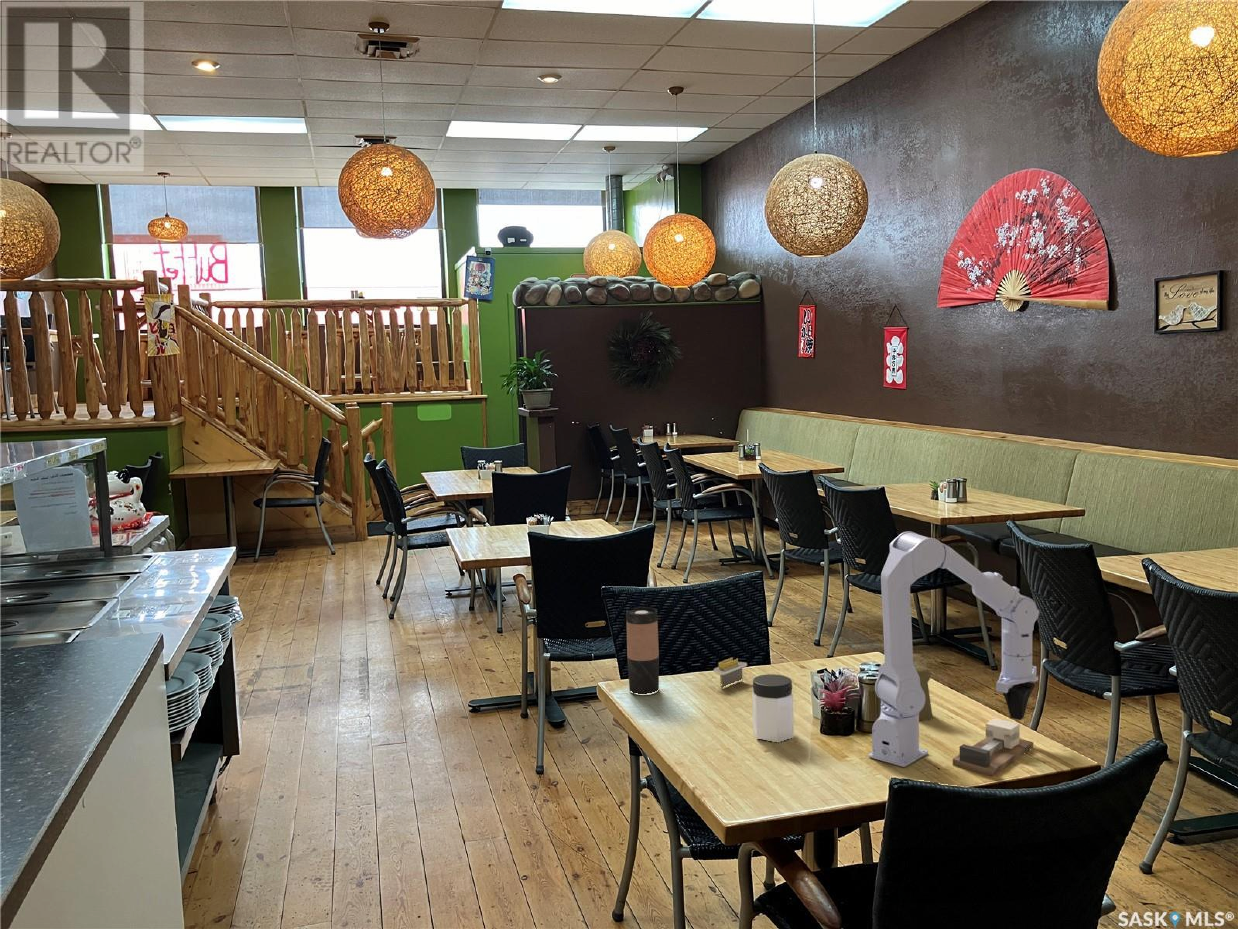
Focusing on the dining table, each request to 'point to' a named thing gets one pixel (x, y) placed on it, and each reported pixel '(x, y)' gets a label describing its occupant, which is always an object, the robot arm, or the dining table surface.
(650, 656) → the travel mug
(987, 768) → the rail board
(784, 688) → the jar
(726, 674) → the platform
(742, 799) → the dining table surface
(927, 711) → the cork
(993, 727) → the slider
